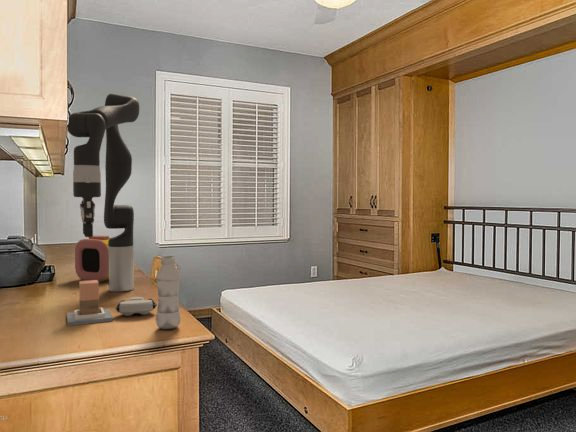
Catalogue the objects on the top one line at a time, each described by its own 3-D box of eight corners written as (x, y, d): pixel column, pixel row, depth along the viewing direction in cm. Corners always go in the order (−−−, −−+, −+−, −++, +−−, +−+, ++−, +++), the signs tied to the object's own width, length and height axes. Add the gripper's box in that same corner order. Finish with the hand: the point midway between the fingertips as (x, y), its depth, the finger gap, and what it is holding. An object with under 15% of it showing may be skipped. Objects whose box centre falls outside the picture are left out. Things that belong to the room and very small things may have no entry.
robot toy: (116, 311, 152) (114, 319, 138) (116, 297, 152) (114, 304, 138) (155, 308, 156) (157, 316, 142) (155, 295, 156) (157, 301, 142)
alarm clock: (73, 280, 202) (72, 236, 201) (93, 276, 212) (92, 234, 211) (106, 283, 195) (105, 237, 194) (124, 279, 205) (124, 235, 204)
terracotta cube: (79, 297, 140) (79, 281, 140) (97, 296, 143) (97, 279, 142) (80, 300, 136) (80, 284, 136) (98, 299, 138) (98, 282, 138)
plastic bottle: (158, 325, 132) (157, 255, 131) (182, 324, 132) (182, 255, 132) (153, 331, 126) (152, 258, 125) (178, 331, 126) (178, 258, 125)
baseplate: (67, 315, 142) (66, 309, 142) (108, 311, 147) (108, 305, 147) (67, 325, 131) (67, 318, 131) (112, 320, 137) (112, 314, 137)
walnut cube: (79, 314, 140) (79, 297, 140) (97, 312, 143) (97, 296, 142) (80, 317, 136) (80, 301, 136) (98, 316, 138) (98, 299, 138)
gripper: (72, 181, 142) (73, 234, 143) (73, 180, 129) (74, 238, 130) (98, 181, 145) (99, 233, 146) (102, 180, 133) (103, 237, 133)
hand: (87, 235), depth 138 cm, fingers open, 8 cm apart
